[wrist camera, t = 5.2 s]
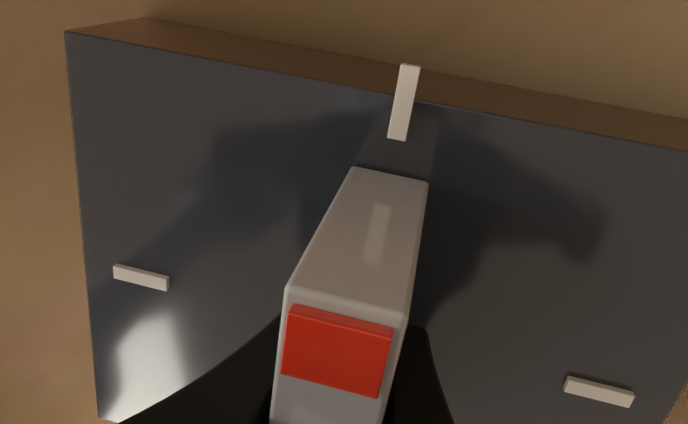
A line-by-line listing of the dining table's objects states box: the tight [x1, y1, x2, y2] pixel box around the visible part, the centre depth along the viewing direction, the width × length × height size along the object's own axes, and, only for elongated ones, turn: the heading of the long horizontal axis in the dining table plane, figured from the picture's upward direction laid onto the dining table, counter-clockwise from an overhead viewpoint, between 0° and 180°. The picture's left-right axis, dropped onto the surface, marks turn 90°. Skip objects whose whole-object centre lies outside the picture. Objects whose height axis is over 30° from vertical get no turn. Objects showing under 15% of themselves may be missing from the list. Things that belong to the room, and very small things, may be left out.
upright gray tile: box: [268, 166, 429, 424], centre depth 10 cm, size 8×2×5 cm, turn 171°
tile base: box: [64, 17, 688, 424], centre depth 14 cm, size 14×12×3 cm
